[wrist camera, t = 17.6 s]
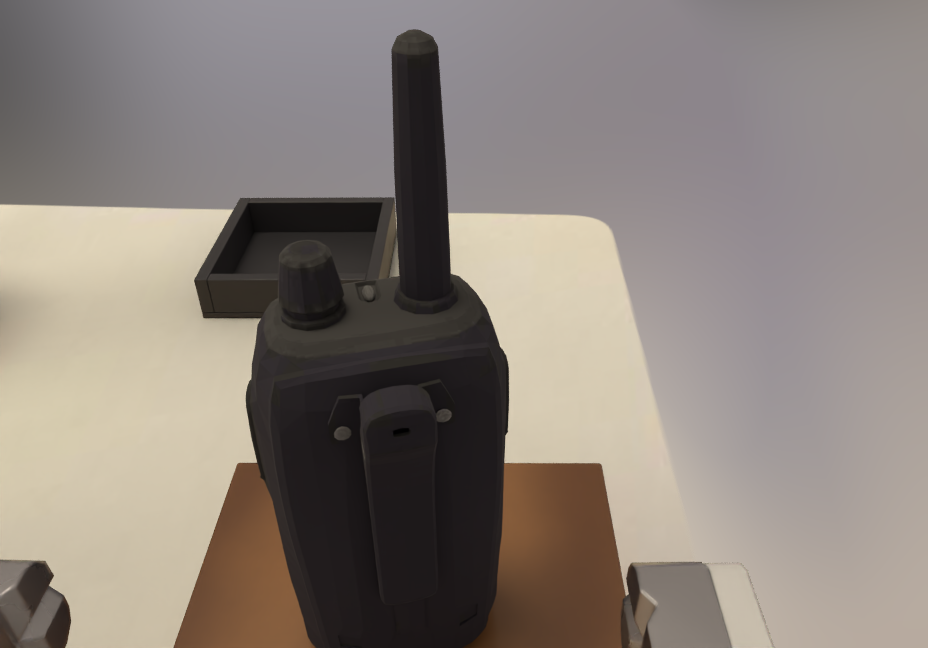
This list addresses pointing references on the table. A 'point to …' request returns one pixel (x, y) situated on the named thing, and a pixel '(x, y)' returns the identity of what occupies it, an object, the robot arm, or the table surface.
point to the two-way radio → (386, 415)
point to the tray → (284, 222)
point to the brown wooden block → (518, 580)
